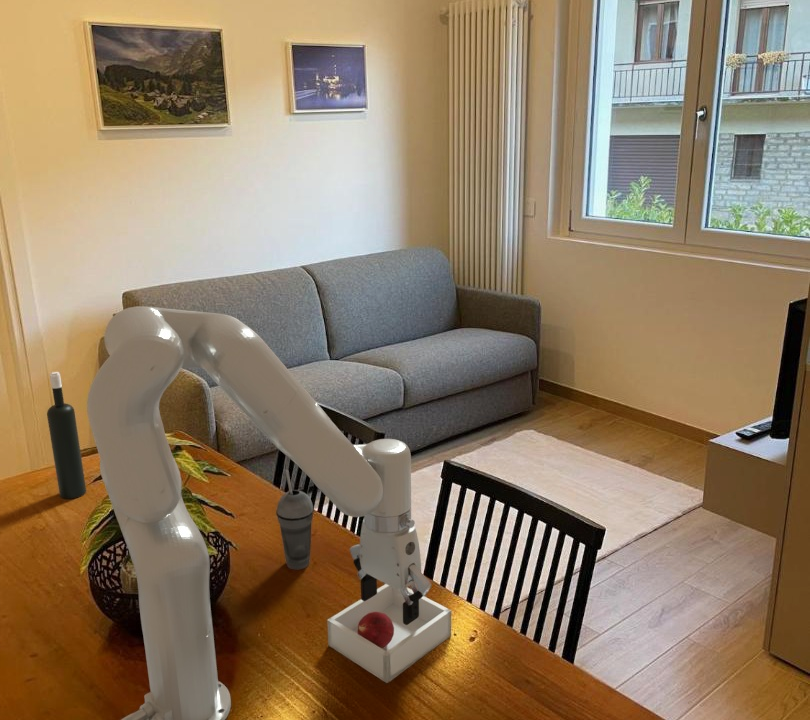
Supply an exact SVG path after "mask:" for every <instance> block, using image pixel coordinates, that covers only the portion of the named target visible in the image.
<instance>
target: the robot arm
mask: <svg viewBox="0 0 810 720" xmlns="http://www.w3.org/2000/svg"><path fill="white" fill-rule="evenodd" d="M104 331H105V332H104V336H103V337H104V338H103V339H104V341H103V342H104V345H105V349H106V351H107V353H108V355H109V357H107V359H106V360H105V361H104V362H103V364H101V366H100V368H99V369H98V371H97V372H96V374H95V376H94V378H93V381H92V383H91V384H90V386H89V390H88V393H87V400H86V412H87V416H88V417H87V418H88V422H89V426H90V429H91V433H92V436H93V440H94V441H95V445H96V450H97V453H98V456H99V458H100V459H99V470H100V475H101V479H102V481H103V484H104V486H105V490H106V493H107V494H108V498H109V500H110V504H111V507H112V508H113V511H114V514H115V517H116V520H117V523H118V525H119V529H120V531H121V533H122V536H123V539H124V541H125V545H126V546H127V549H128V552H129V553H128V554H129V556H130V558H131V561H132V565H133V567H134V572H135V576H136V580H137V589H138V590H137V592H138V603H139V605H138V606H139V613H140V615H139V616H140V624H141V630H142V635H143V637H142V638H143V643H144V650H145V660H146V666H147V674H148V681H149V689H150V691H149V692H147V693H146V694H144V703H143V704H141V705H140V706H139V709H138V710H137V711H134V712H132V713H130V714H129V715H126V716H125V717H123V718H121V719H120V720H226V719H227V717H228V716H229V715H230V714H229V713H230V711H231V707H232V699H231V694H230V691H229V689H228V687H226V686H225V684H223V683H222V682H221V681H219V679H218V670H217V669H218V668H217V658H216V648H215V640H214V639H215V637H214V628H213V617H212V616H213V615H212V610H211V609H212V608H211V599H210V598H211V595H210V571H211V569H210V567H211V565H210V564H211V563H210V555H209V551H208V546H207V545H206V541H205V540H204V537H203V535H202V533H201V532H200V529H199V527H198V526H197V525H196V523H195V521H194V520H193V519H192V517H191V515H190V513H189V511H188V510H187V509H188V508H187V507H186V504H185V502H184V499H183V495H182V476H181V472H180V469H179V465H178V464H177V462H176V460H175V458H174V456H173V453H172V449H171V447H170V444H169V442H168V439H167V434H166V433H165V429H164V428H165V427H164V424H163V420H162V417H161V413H160V402H161V399H162V396H163V394H164V392H165V391H166V389H168V387H169V386H170V385H171V383H173V381H174V380H175V379H176V377H177V376H178V375H179V373H180V371H181V369H199V370H200V369H202V370H204V371H205V372H206V374H208V375H209V377H210V378H211V379H212V380H213V381H214V382H215V383H216V384H217V386H218V387H220V389H221V390H222V391H223V392H224V393H225V395H227V396H228V397H229V398H230V399H231V400H232V401H233V402H234V404H236V406H237V407H238V408H239V409H240V410H241V412H243V414H244V415H245V416H247V418H248V419H250V421H251V422H252V423H253V424H254V425H255V426H256V427H257V428H258V429H259V430H260V432H261V433H262V434H263V435H264V436H265V437H266V439H268V440H269V441H270V442H271V444H273V445H274V446H275V447H276V448H277V449H278V451H280V452H282V453H283V454H284V455H285V456H286V457H287V458H289V460H290V461H292V462H293V463H294V464H295V465H297V466H298V468H300V469H301V470H302V472H303V473H304V474H306V475H307V476H308V477H309V479H310V480H312V483H314V484H313V485H315V486H316V487H317V489H318V490H320V491H321V493H323V495H325V497H326V498H328V499H329V500H330V502H331V503H332V504H333V505H334V506H335V507H336V508H337V509H338V510H339V511H340V512H341V513H342V514H344V515H346V516H348V517H352V518H362V517H363V520H362V523H361V529H360V535H359V536H360V538H359V539H360V540H359V544H354V545H353V546H351V547H349V552H350V554H351V557H352V559H353V561H352V562H353V566H354V567H355V569H356V570H357V577H358V578H359V580H360V599H361V600H363V601H366V600H368V599H370V598H371V597H373V596H375V595H376V594H377V589H378V581H379V582H381V583H383V584H384V585H385V584H387V585H389V586H391V587H393V588H395V589H398V590H400V592H401V594H402V595H403V597H404V599H405V602H404V603H403V623H404V624H405V625H408V624H409V623H411V622H412V621H414V620H415V619H417V618H418V617H419V599H420V598H422V597H423V596H425V597H426V595H428V592H429V590H430V589H431V588H432V583H431V581H430V580H429V579H428V578H427V576H425V575H424V574H423V573H422V563H421V551H420V550H421V549H420V543H419V536H418V532H417V530H416V526H415V520H414V519H412V455H411V450H410V448H409V446H408V445H407V444H406V443H405V442H404V441H401V440H398V439H393V438H380V439H376V440H372V441H371V442H369V443H363V444H362V443H361V444H353V443H352V442H351V440H349V439H348V438H347V437H346V435H344V434H343V432H342V431H341V430H340V429H339V428H338V426H337V425H336V424H335V423H334V422H333V421H332V419H331V418H330V417H329V416H328V414H327V413H326V412H325V411H324V410H323V408H322V407H321V406H320V405H319V404H318V402H317V401H316V400H315V399H314V398H313V396H311V394H310V393H309V392H308V391H307V390H306V389H305V388H304V386H303V385H302V384H301V382H299V380H298V379H297V378H296V377H295V376H294V375H293V373H292V372H291V371H290V370H289V369H288V368H287V366H285V364H284V363H283V362H282V361H281V360H280V358H279V357H278V356H277V355H276V354H275V352H274V351H273V350H272V349H271V347H270V346H268V345H267V343H266V342H265V341H264V340H263V338H262V337H261V336H259V334H257V332H255V331H254V330H253V329H252V328H251V327H249V326H248V325H247V324H245V323H244V322H242V321H241V320H239V318H236V317H235V316H232V315H229V314H224V313H218V312H216V313H215V312H208V311H207V312H206V311H198V310H197V311H196V310H185V309H175V308H165V307H157V306H145V305H144V306H143V305H142V306H141V305H140V306H139V305H138V306H137V305H136V306H132V307H127V308H124V309H122V310H120V311H119V312H117V313H115V314H114V315H113V316H112V317H111V318H110V320H109V321H108V323H107V326H106V327H105V330H104ZM409 587H410V589H411V590H412V591H413V593H414V594H412V595H410V593H409V591H408V590H407V588H409Z"/></svg>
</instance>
